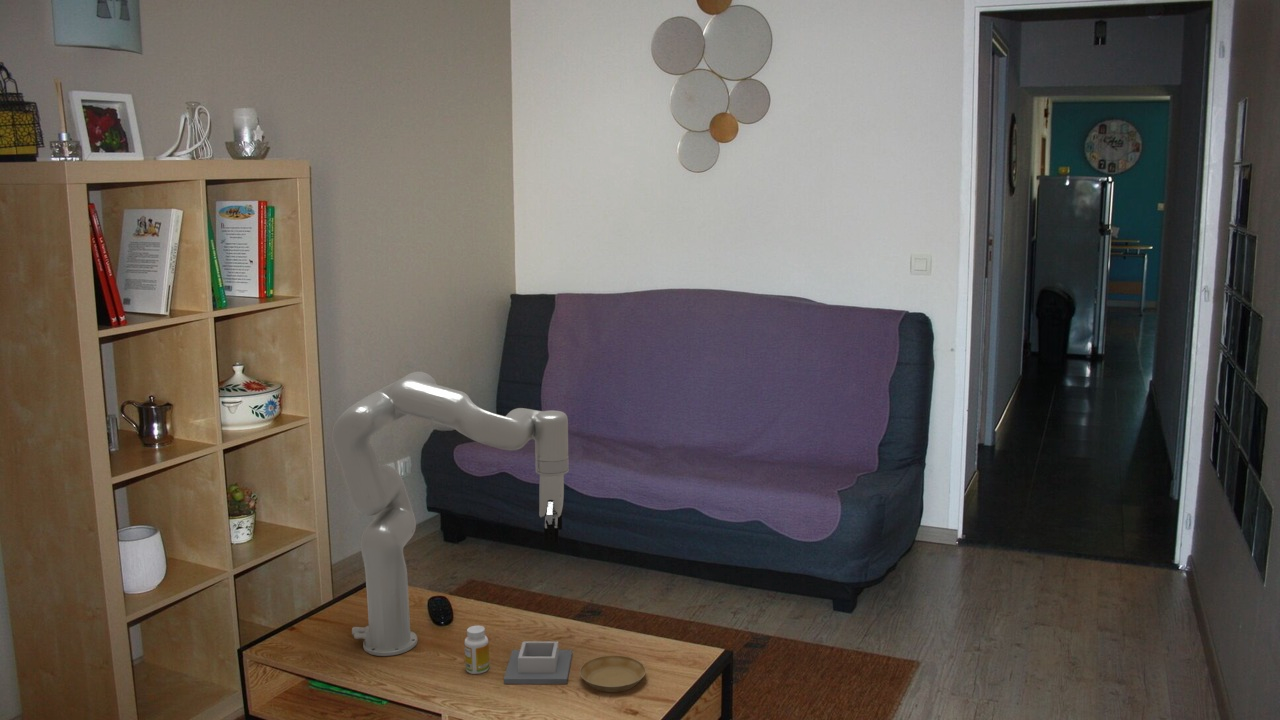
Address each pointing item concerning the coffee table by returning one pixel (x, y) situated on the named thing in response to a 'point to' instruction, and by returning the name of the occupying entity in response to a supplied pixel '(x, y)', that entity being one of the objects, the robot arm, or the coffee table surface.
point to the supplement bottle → (476, 650)
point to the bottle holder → (538, 664)
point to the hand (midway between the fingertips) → (553, 536)
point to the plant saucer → (612, 673)
